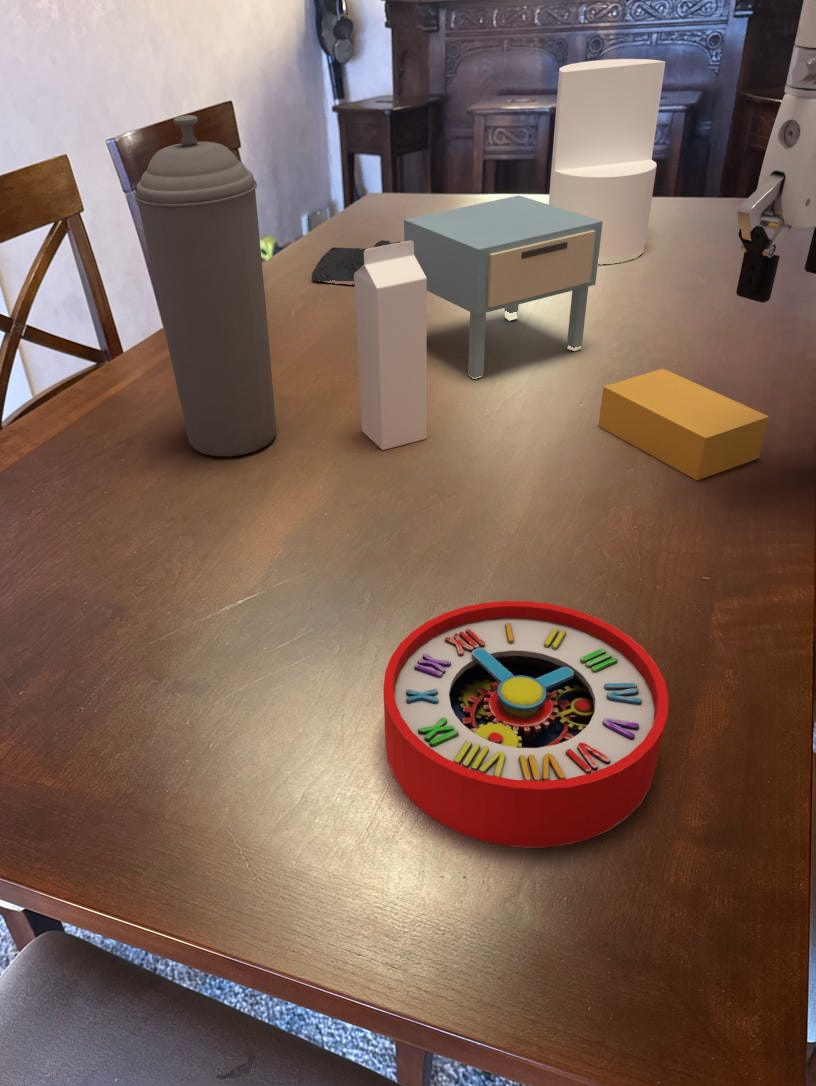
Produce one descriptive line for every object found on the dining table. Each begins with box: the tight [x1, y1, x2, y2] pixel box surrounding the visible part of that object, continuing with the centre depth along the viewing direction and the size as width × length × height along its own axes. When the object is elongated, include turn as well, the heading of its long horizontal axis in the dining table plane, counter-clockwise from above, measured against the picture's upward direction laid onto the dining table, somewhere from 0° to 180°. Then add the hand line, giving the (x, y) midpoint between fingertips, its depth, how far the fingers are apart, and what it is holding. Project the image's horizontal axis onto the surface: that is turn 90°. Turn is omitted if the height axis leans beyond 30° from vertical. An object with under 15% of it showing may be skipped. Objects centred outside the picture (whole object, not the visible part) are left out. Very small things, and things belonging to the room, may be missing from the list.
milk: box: [354, 241, 428, 451], centre depth 102 cm, size 6×6×22 cm
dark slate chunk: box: [311, 239, 402, 281], centre depth 157 cm, size 15×22×5 cm
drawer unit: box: [403, 195, 603, 378], centre depth 123 cm, size 19×19×17 cm
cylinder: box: [548, 58, 666, 257], centre depth 151 cm, size 17×17×28 cm
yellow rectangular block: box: [597, 368, 770, 481], centre depth 101 cm, size 16×9×5 cm, turn 27°
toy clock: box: [383, 600, 669, 849], centre depth 66 cm, size 20×6×20 cm
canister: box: [134, 114, 277, 458], centre depth 100 cm, size 13×13×35 cm
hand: (787, 286), depth 83 cm, fingers open, 9 cm apart
